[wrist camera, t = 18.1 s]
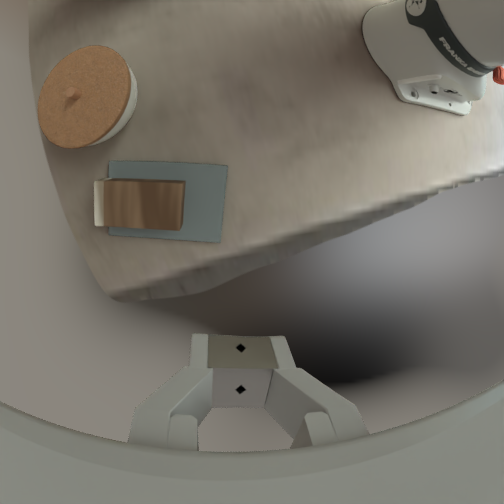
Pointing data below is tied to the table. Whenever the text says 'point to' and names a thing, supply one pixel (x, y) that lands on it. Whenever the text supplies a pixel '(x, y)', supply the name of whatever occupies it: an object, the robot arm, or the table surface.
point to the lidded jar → (87, 98)
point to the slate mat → (195, 203)
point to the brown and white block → (139, 203)
